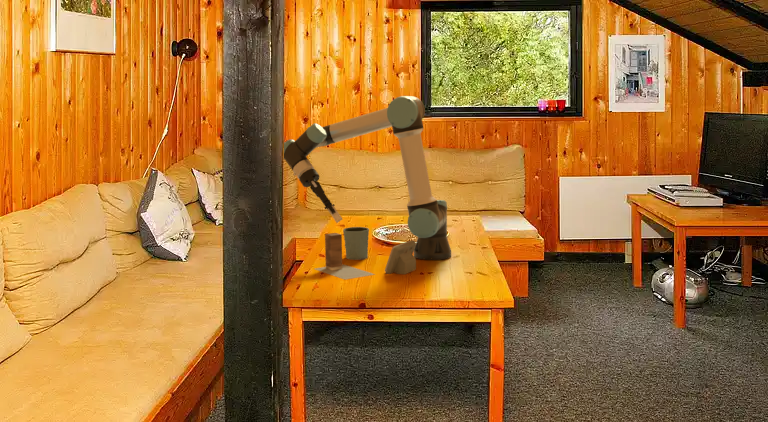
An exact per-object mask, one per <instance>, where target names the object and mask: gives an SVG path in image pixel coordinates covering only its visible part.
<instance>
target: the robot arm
mask: <svg viewBox="0 0 768 422" xmlns="http://www.w3.org/2000/svg"><path fill="white" fill-rule="evenodd" d="M425 109H426V108H425V105H424V103H423V101H422V100H421V99H419V98H418V97H416V96H414V95H400V96H397V97H395V98H394V99H393V100H391V102H389V104H388V106H387V107H386V108H382V109H379V110H375V111H373V112H369V113H366V114H362V115H358V116H356V117H352V118H349V119H345V120H342V121H338V122H334V123H332V124H328V125H325V126H321V125H320V124H318V123H313V124H311V125H310V126H309V127H307V128H306V130H304V131H303V132H302V134H300V136H299V137H298V138H297V139H295V140H294V139H287V140H286V141H285V142H283V143H284V158H283V160H284V161H285V162H286V163H287V165H288V166H289V167H290V169H291V170H292V172H293V176H296V177H297V179H298V180H299V182H300V184H301V185H302V186H303V187H304V188H310V190H311V191H312V192H313V193H314V194H315V196H316V197H317V198H319V199H320V201H321V202H322V204H323V206H324V210H327V211H328V212H329V214H330V215H331V217H332V218H333V220H334V221H335V223H336V224H338V223H340V222H341V221H342V220H343V217H342V216H341V215H340V213H339V211H338V210H337V209H336V207H335V204H334V203H332V202H331V200H330V198H328V196H327V195H326V194H325V193H326V192H325V191H324V189H323V187H322V185H321V183H320V182H319V179H320V178H321V177H320V174H319V173H318V171H317V170H316V169H315V167H314V165H313V164H312V163H311V161H310V160H309V159H308V156H309V155H310V154H311V152H313V151H314V150H315V149H317V148H321V147H327V146H329V145H331V144H335V143H339V142H342V141H345V140H349V139H353V138H356V137H360V136H363V135H367V134H370V133H374V132H377V131H381V130H384V129H388V128H392V133H393V135H394V137H396V138H397V139H398V142H399V143H398V144H399V149H400V154H401V159H402V165H403V170H404V176H405V180H406V181H405V182H406V185H407V190H408V196H409V197H408V198H409V201H408V203H407V204H406V206H407V213H408V218H407V227H408V229H409V231H410V233H411V234H412V235H413V236H415V237H417V239H416V241H415V243H416V245H415V248H414V251H413V256H414V257H415V258H416V259H419V260H426V261H436V260H446V259H449V258H451V257H452V249H451V248H452V247H451V246H450V243H449V239H448V203H447V201H446V200H444V199H437V198H436V197H434V196H433V194H432V193H433V192H432V188H431V183H430V182H431V181H430V178H429V172H428V167H427V161H426V156H425V151H424V150H425V149H424V146H423V140H422V135H421V134H422V132H423V131H424V129H425V128H424V124H423V123H424V122H423V119H424V117H425V112H426V110H425Z"/></svg>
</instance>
